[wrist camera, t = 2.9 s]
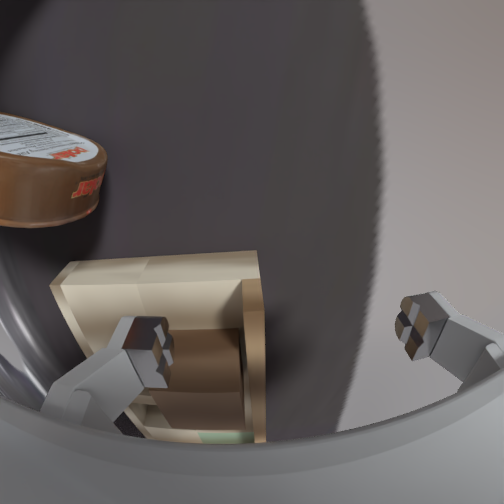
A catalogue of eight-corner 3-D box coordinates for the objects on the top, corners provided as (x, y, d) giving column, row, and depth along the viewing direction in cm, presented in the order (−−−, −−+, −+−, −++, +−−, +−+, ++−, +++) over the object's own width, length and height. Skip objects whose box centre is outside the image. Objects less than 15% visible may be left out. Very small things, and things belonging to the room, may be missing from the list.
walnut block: (163, 329, 15) (148, 390, 11) (238, 327, 15) (239, 392, 11) (179, 374, 17) (171, 428, 13) (243, 373, 17) (245, 429, 13)
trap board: (70, 261, 16) (29, 309, 11) (256, 250, 16) (264, 310, 11) (157, 427, 27) (152, 464, 22) (262, 429, 27) (265, 468, 23)
